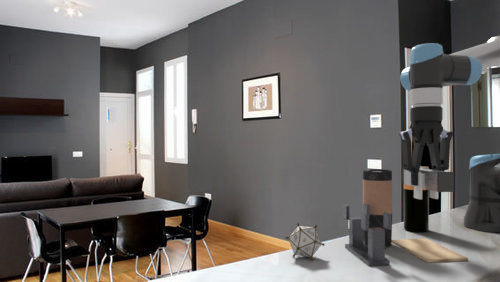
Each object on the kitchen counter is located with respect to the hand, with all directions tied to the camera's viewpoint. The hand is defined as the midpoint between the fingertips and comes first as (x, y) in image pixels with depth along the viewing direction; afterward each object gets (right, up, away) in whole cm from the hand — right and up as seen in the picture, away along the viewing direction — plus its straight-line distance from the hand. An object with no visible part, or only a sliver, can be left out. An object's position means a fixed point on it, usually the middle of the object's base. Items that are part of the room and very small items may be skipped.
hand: (425, 198), depth 102 cm
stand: (-16, -14, -4) cm, 22 cm away
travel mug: (-10, -14, +7) cm, 18 cm away
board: (0, -13, 0) cm, 13 cm away
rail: (0, +3, 0) cm, 3 cm away
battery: (+7, -13, +22) cm, 27 cm away
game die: (-31, -14, -5) cm, 35 cm away
